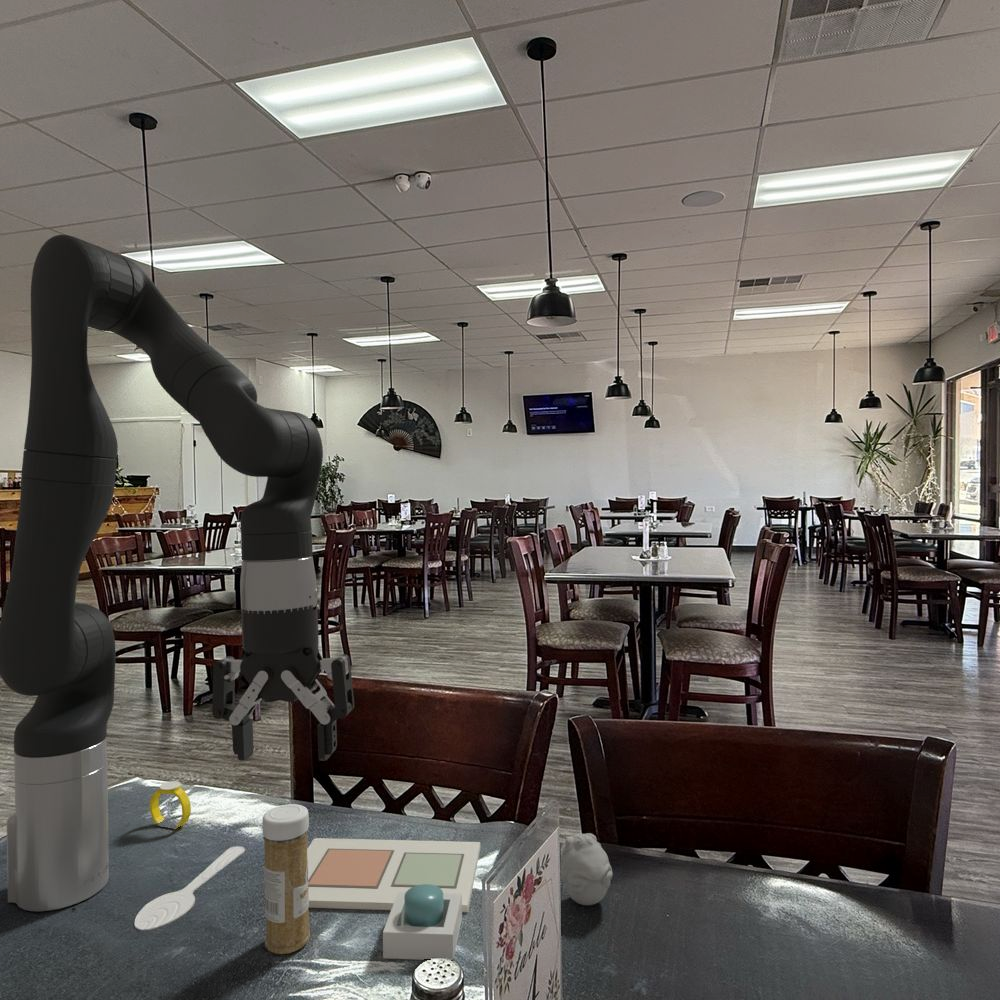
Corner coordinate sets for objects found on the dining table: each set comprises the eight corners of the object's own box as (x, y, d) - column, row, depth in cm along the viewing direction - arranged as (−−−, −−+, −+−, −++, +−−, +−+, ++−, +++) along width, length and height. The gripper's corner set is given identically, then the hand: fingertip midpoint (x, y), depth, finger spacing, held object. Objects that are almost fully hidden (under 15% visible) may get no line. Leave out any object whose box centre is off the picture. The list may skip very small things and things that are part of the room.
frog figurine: (596, 879, 83) (595, 820, 83) (624, 912, 76) (623, 849, 76) (548, 888, 81) (548, 829, 81) (573, 923, 74) (572, 858, 74)
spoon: (258, 851, 91) (258, 847, 91) (162, 936, 74) (162, 931, 74) (222, 847, 92) (222, 843, 92) (119, 929, 75) (119, 924, 75)
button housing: (383, 958, 69) (382, 932, 69) (398, 915, 76) (398, 892, 76) (453, 960, 69) (452, 934, 69) (462, 917, 76) (461, 894, 76)
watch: (194, 826, 98) (196, 785, 98) (179, 836, 96) (181, 793, 95) (160, 818, 100) (161, 777, 100) (144, 827, 97) (146, 785, 97)
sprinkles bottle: (316, 945, 71) (314, 814, 71) (271, 962, 69) (269, 826, 69) (302, 923, 75) (300, 798, 75) (258, 938, 73) (257, 809, 73)
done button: (401, 927, 71) (400, 905, 71) (409, 904, 75) (408, 883, 75) (440, 928, 70) (439, 906, 70) (446, 905, 74) (445, 884, 74)
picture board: (272, 906, 78) (272, 898, 78) (314, 844, 92) (314, 837, 92) (467, 912, 77) (467, 904, 77) (480, 848, 91) (480, 841, 91)
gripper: (194, 609, 69) (201, 772, 69) (334, 606, 68) (341, 772, 68) (230, 598, 77) (236, 745, 77) (357, 594, 75) (363, 744, 75)
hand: (285, 757), depth 72 cm, fingers open, 8 cm apart
